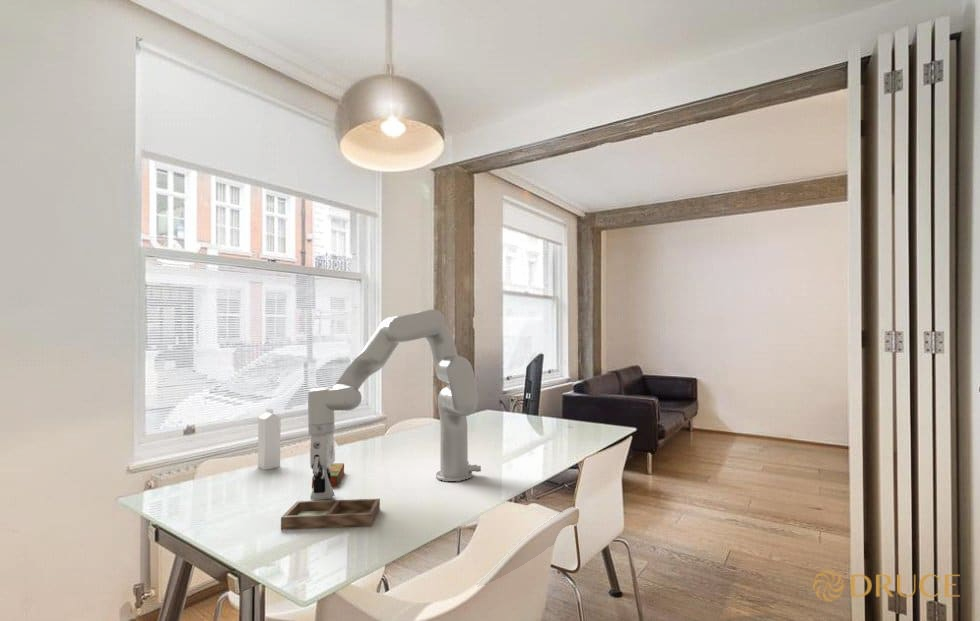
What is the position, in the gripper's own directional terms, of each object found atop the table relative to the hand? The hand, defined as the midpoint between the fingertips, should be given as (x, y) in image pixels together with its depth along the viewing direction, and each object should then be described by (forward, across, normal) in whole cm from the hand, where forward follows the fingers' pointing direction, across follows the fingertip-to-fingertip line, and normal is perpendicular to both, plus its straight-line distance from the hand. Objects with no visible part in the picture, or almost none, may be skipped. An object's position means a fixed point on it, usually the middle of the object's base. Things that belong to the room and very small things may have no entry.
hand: (322, 488), depth 145 cm
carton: (+4, +20, +4) cm, 20 cm away
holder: (+3, -16, -7) cm, 18 cm away
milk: (+3, +40, +32) cm, 51 cm away
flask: (+3, 0, 0) cm, 3 cm away
